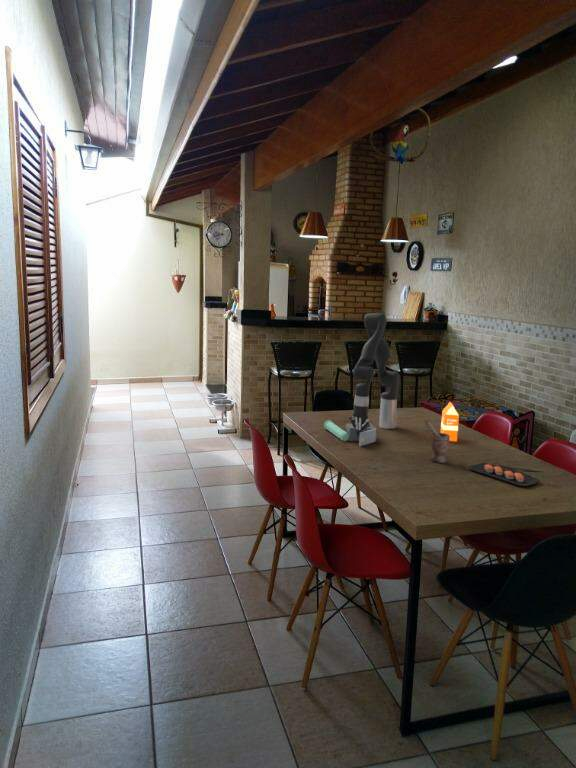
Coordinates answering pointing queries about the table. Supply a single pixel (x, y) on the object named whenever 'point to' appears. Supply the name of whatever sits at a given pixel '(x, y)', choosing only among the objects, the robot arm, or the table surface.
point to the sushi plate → (506, 474)
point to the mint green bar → (336, 430)
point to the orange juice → (450, 422)
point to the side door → (367, 437)
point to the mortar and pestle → (438, 443)
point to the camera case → (352, 431)
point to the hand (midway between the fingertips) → (358, 436)
